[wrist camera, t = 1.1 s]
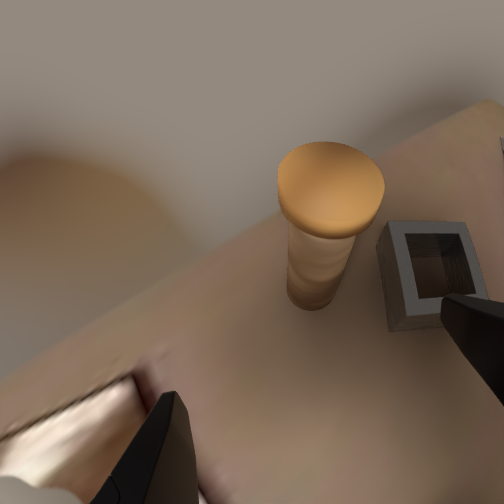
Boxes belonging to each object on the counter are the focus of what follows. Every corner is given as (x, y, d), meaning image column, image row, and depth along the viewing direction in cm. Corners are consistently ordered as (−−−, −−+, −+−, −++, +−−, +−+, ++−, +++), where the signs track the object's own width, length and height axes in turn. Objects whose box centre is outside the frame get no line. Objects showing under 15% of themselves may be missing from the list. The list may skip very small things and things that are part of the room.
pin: (351, 276, 26) (395, 164, 14) (324, 328, 23) (364, 239, 12) (297, 250, 27) (305, 130, 16) (267, 299, 25) (257, 192, 14)
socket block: (447, 245, 26) (465, 222, 23) (466, 322, 22) (490, 306, 19) (375, 246, 27) (387, 220, 23) (389, 332, 23) (406, 316, 19)
